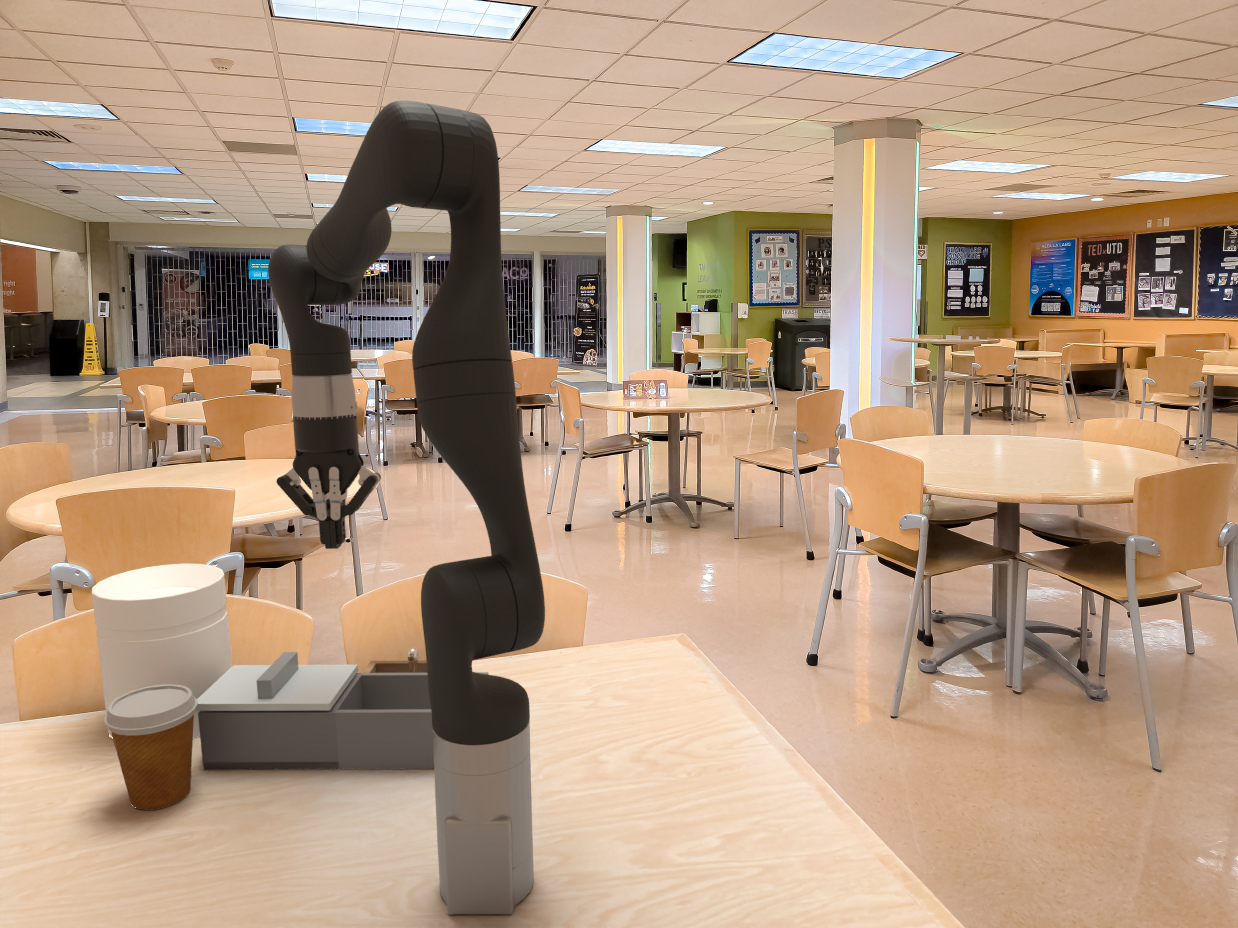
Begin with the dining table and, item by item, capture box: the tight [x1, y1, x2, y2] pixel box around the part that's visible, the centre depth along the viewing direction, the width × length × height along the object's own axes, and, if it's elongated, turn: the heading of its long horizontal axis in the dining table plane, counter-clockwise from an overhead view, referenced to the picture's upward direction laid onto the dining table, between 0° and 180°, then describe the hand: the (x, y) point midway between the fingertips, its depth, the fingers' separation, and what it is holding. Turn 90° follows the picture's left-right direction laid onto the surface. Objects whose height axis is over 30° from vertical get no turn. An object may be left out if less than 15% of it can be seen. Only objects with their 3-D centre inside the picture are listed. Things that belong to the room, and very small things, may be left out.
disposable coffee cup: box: [103, 684, 198, 811], centre depth 102 cm, size 10×10×12 cm
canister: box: [91, 563, 233, 738], centre depth 121 cm, size 16×16×20 cm
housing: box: [198, 671, 490, 771], centre depth 114 cm, size 12×35×8 cm, turn 90°
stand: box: [407, 646, 419, 673], centre depth 127 cm, size 8×5×8 cm
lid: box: [195, 651, 359, 711], centre depth 113 cm, size 12×17×3 cm
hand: (333, 547), depth 112 cm, fingers closed
